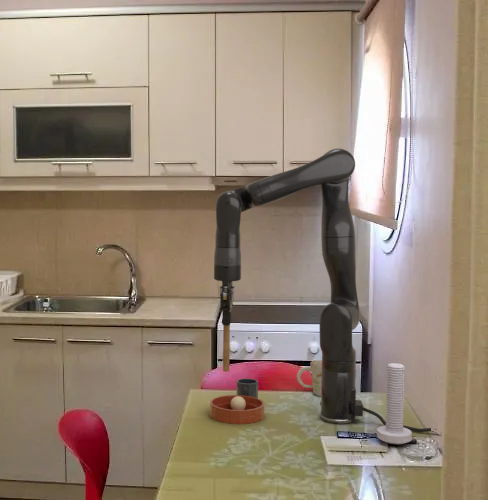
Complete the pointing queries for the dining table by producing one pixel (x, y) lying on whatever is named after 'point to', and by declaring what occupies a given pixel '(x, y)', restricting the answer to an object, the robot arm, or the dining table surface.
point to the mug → (313, 376)
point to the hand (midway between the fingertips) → (226, 324)
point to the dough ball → (238, 403)
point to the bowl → (226, 414)
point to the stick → (226, 347)
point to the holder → (247, 387)
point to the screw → (395, 408)
